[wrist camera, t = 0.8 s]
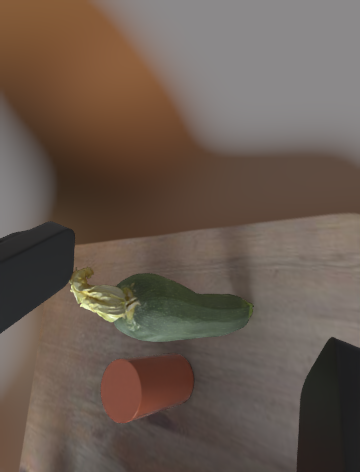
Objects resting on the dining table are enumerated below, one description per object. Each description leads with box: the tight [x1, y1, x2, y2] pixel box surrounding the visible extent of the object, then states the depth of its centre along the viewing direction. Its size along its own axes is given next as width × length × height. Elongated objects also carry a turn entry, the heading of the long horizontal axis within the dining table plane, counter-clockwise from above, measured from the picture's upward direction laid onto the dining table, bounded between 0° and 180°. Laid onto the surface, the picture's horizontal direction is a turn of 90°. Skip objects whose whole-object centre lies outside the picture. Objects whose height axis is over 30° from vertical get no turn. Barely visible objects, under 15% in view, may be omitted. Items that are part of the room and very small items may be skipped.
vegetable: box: [69, 267, 254, 342], centre depth 23 cm, size 4×4×20 cm
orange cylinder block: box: [101, 353, 194, 423], centre depth 31 cm, size 5×5×8 cm
